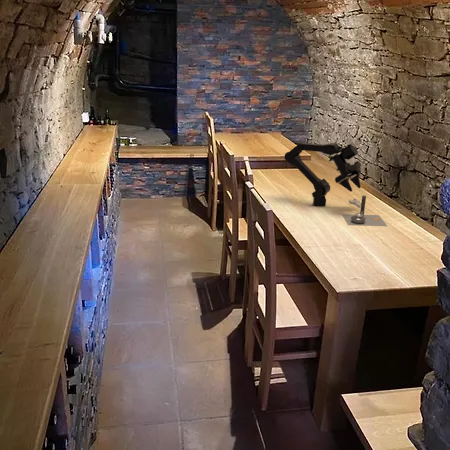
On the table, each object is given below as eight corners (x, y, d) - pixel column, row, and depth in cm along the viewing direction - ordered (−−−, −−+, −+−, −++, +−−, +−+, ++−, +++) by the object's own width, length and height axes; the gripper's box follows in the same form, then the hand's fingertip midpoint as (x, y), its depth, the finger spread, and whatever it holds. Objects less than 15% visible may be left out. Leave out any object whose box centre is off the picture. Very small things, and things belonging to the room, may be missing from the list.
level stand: (347, 226, 250) (348, 224, 249) (341, 215, 265) (341, 213, 265) (387, 228, 249) (387, 225, 249) (378, 216, 265) (378, 214, 265)
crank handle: (352, 223, 251) (355, 202, 247) (347, 215, 262) (349, 195, 258) (368, 224, 250) (371, 202, 246) (363, 215, 262) (365, 195, 258)
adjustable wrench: (372, 215, 269) (372, 212, 268) (360, 215, 268) (360, 212, 268) (357, 201, 292) (358, 198, 291) (347, 201, 291) (347, 198, 291)
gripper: (344, 159, 252) (359, 185, 250) (361, 154, 265) (375, 179, 263) (328, 169, 260) (342, 195, 258) (346, 164, 273) (359, 189, 271)
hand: (355, 189), depth 262 cm, fingers open, 9 cm apart
